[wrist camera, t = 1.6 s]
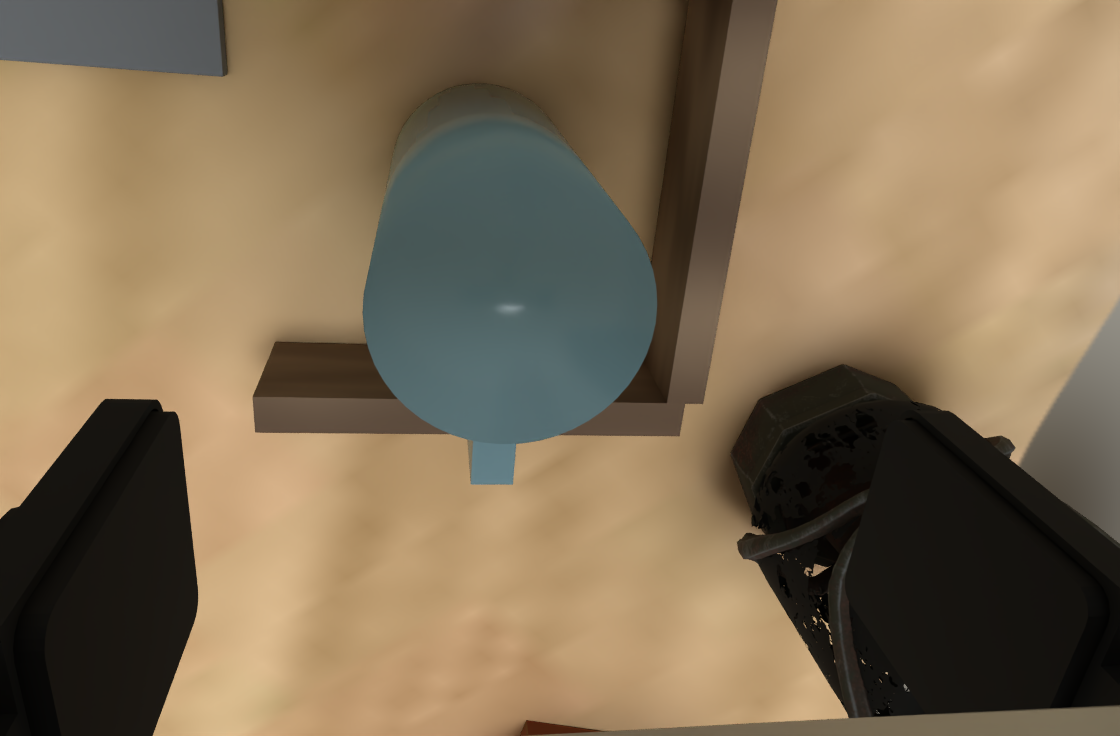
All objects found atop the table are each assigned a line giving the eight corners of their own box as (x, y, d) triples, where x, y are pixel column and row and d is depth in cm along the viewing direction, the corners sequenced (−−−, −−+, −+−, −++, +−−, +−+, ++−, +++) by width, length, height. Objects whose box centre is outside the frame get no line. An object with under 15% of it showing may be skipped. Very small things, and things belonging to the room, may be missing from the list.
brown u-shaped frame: (248, -107, 22) (214, -121, 19) (735, -53, 25) (787, -57, 21) (277, 374, 28) (255, 432, 25) (665, 382, 31) (697, 436, 27)
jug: (391, 76, 25) (361, 159, 14) (575, 90, 26) (677, 179, 15) (390, 320, 28) (365, 537, 17) (553, 325, 29) (624, 534, 18)
